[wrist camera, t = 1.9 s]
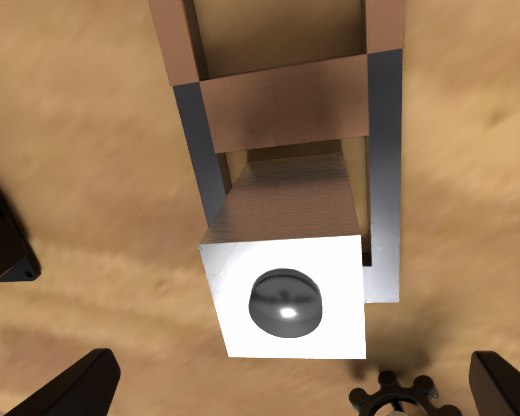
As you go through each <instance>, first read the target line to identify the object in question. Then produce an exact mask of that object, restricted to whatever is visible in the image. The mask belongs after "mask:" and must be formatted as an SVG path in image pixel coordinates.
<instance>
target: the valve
mask: <svg viewBox="0 0 520 416" xmlns="http://www.w3.org/2000/svg"><path fill="white" fill-rule="evenodd" d="M378 382H379V384H380V386H381V388H380V390H379V391H378V392H376V393H374V394H372V395H369V394H367V393H366V392H365V390H364V389H362V388H355V389H353V390H352V391H351V392H350V394H349V400H350V402H351V404H352V406H353V407H354V409H355V411H356V412H357V413H359V415H358V416H374V415H375V413H376V412H377V411H378V410H379V409H380V408H381V407H382V406H384V405H386V404H388V403H391V405H392V407H393V409H394V411H392V412H390V413H389V414H388V415H387V416H410V415H408V414H406V413H405V411H404V408H403V405H402V403H401V401H404V402H409V403H412V404H414V405H416V406H418V407H419V408H420V409H421V410H423V411H424V412H425V414H426V415H427V416H463V415H462V413H461V411H460V410H459V409H458V408H457V407H455V406H453V405H444V406H442V407H441V408H436V407H435V406H434V405H433V404H432V403H431V402H430V399H431V398H432V397H433V398H435V399H436V400H437V399H438V397H439V393H438V390H437V388H436V386H435V384H434V382H433V380H432V379H431V378H430V377H428V376H425V375H421V376H418V377H417V378H415V380H414V382H413V386H412V387H410V388H405V387H401V384H400V382H399V380H398V378H397V376H396V375H395V373H394V372H392V371H383V372H381V373H380V374H379V376H378Z"/></svg>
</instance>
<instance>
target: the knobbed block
mask: <svg viewBox="0 0 520 416" xmlns="http://www.w3.org/2000/svg"><path fill="white" fill-rule="evenodd" d="M198 246H199V249H200V253H201V257H202V260H203V264H204V268H205V271H206V275H207V278H208V282H209V286H210V289H211V293H212V297H213V300H214V304H215V308H216V311H217V315H218V318H219V322H220V326H221V329H222V333H223V337H224V340H225V344H226V347H227V351H228V355H229V357H289V358H354V359H366V353H365V329H364V305H363V281H362V256H361V235H360V230H359V225H358V221H357V216H356V211H355V207H354V202H353V197H352V193H351V188H350V184H349V179H348V174H347V170H346V165H345V160H344V156H343V152H336V153H327V154H318V155H309V156H300V157H290V158H281V159H272V160H263V161H254V162H247V163H246V165H245V167H244V168H243V170H242V172H241V174H240V175H239V177H238V179H237V180H236V182H235V184H234V185H233V187H232V189H231V190H230V192H229V194H228V195H227V197H226V199H225V200H224V202H223V204H222V205H221V207H220V209H219V211H218V212H217V214H216V216H215V217H214V219H213V221H212V222H211V224H210V226H209V227H208V229H207V231H206V232H205V234H204V236H203V237H202V239H201V241H200V242H199V244H198Z"/></svg>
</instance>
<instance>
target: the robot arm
mask: <svg viewBox="0 0 520 416" xmlns="http://www.w3.org/2000/svg"><path fill="white" fill-rule="evenodd" d="M40 275H41V271H40V269H39V267H38V265H37V263H36V261H35V259H34V257H33V256H32V254H31V252H30V250H29V248H28V246H27V244H26V242H25V240H24V238H23V236H22V235H21V233H20V231H19V229H18V227H17V225H16V223H15V221H14V219H13V217H12V215H11V214H10V212H9V210H8V208H7V206H6V204H5V202H4V200H3V198H2V196H1V194H0V282H16V281H34V280H36V279H37V278H38V277H39V276H40ZM120 375H121V370H120V367H119V365H118V362H117V360H116V358H115V356H114V354H113V352H112V350H110V349H109V348H97V349H94V350H92V351H91V352H89V353H88V354H87V355H85V356H84V357H83V358H81V359H80V360H79V361H77V362H76V363H74V364H73V365H72V366H70V367H69V368H68V369H66V370H65V371H64V372H62V373H61V374H59V375H58V376H57V377H55V378H54V379H53V380H51V381H50V382H49V383H47V384H46V385H45V386H43V387H42V388H40V389H39V390H38V391H36V392H35V393H34V394H32V395H31V396H30V397H28V398H27V399H26V400H24V401H23V402H21V403H20V404H19V405H17V406H16V407H15V408H13V409H12V410H11V411H9V412H8V413H6V414H5V415H4V416H107V414H108V411H109V408H110V405H111V402H112V399H113V397H114V394H115V391H116V388H117V385H118V382H119V379H120ZM469 384H470V388H471V391H472V394H473V397H474V400H475V404H476V407H477V410H478V413H479V416H520V372H519V371H518V370H517V369H516V368H514V367H513V366H512V365H511V364H510V363H508V362H507V361H506V360H505V359H504V358H502V357H501V356H500V355H499V354H497V353H496V352H494V351H474V352H473V353H472V356H471V363H470V370H469Z"/></svg>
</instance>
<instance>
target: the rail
mask: <svg viewBox="0 0 520 416" xmlns="http://www.w3.org/2000/svg"><path fill="white" fill-rule="evenodd" d="M148 1H149V5H150V8H151V12H152V16H153V20H154V24H155V28H156V32H157V36H158V40H159V43H160V47H161V51H162V55H163V59H164V63H165V67H166V71H167V75H168V78H169V82H170V86H173V90H174V94H175V98H176V102H177V106H178V110H179V114H180V118H181V122H182V125H183V129H184V133H185V137H186V141H187V145H188V149H189V153H190V157H191V161H192V165H193V169H194V173H195V176H196V180H197V184H198V188H199V192H200V196H201V200H202V204H203V208H204V212H205V216H206V220H207V224H208V227H209V226H210V224H211V222H212V221H213V219H214V217H215V216H216V214H217V212H218V211H219V209H220V207H221V205H222V204H223V202H224V200H225V199H226V197H227V195H228V194H229V192H230V190H231V189H232V185H231V180H230V176H229V171H228V166H227V161H226V156H225V152H231V151H240V150H248V149H257V148H266V147H274V146H283V145H291V144H300V143H308V142H317V141H325V140H334V139H342V138H351V137H360V136H365V146H366V179H367V211H368V244H369V253H361V256H362V281H363V303H383V302H399V257H400V187H401V117H402V48H404V0H361V15H362V48H363V53H358V54H352V55H346V56H340V57H334V58H328V59H322V60H316V61H310V62H304V63H298V64H292V65H286V66H280V67H274V68H268V69H262V70H256V71H250V72H244V73H238V74H232V75H226V76H220V77H214V78H209V76H208V71H207V66H206V61H205V56H204V52H203V47H202V42H201V37H200V33H199V28H198V23H197V18H196V14H195V9H194V4H193V0H148Z"/></svg>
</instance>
